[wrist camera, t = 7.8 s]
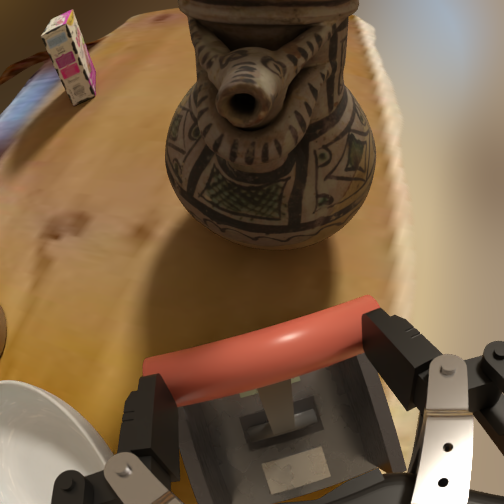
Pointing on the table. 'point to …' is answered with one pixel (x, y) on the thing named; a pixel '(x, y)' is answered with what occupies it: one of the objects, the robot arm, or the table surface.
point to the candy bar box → (70, 57)
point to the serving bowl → (42, 443)
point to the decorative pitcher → (270, 123)
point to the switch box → (291, 439)
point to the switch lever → (266, 363)
